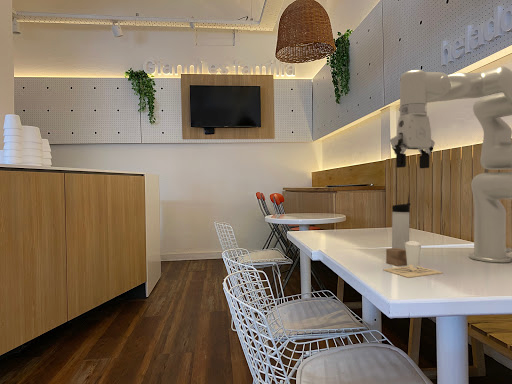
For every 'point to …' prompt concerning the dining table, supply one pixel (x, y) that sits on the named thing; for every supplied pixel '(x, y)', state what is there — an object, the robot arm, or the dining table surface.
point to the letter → (412, 272)
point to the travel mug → (400, 225)
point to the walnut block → (396, 256)
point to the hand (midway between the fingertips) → (412, 167)
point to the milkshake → (412, 255)
